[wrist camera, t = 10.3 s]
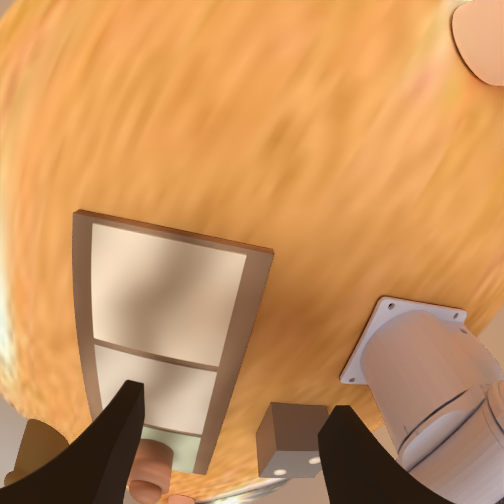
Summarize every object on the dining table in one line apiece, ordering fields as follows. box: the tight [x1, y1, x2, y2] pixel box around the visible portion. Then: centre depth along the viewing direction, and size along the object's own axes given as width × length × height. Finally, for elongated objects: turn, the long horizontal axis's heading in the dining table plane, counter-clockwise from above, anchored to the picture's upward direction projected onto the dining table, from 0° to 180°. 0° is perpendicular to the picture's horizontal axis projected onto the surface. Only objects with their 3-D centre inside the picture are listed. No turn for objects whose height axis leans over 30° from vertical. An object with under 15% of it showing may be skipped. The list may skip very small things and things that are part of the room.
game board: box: [72, 210, 274, 475], centre depth 21 cm, size 12×27×1 cm, turn 167°
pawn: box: [127, 439, 174, 504], centre depth 21 cm, size 4×4×6 cm
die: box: [256, 402, 329, 478], centre depth 22 cm, size 5×5×5 cm
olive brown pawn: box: [4, 419, 69, 486], centre depth 21 cm, size 6×6×11 cm
